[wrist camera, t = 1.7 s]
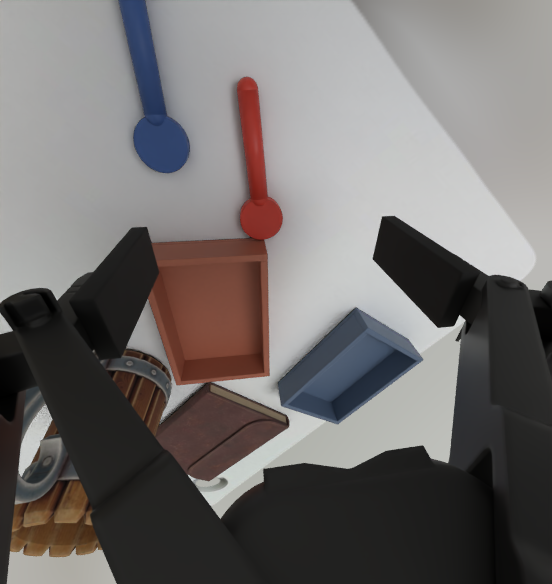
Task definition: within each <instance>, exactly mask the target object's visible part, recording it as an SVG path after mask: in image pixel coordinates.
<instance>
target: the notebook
mask: <svg viewBox="0 0 552 584" xmlns="http://www.w3.org/2000/svg"><path fill="white" fill-rule="evenodd" d="M288 427H289V419H288V417H287V415H285V414H282V413H280V412H278V411H275V410H273V409H271V408H269V407H266V406H264V405H262V404H259V403H257V402H255V401H253V400H250V399H248V398H246V397H243V396H241V395H239V394H237V393H234V392H232V391H230V390H227V389H225V388H223V387H221V386H218V385H216V384H214V383H211V382H208V383H207V384H206V385H205V386H204V387H203V388H202V389H200V390H199V391H198V392H197V393H196V394H195V395H194V396H193V397H191V398H190V399H189V400H188V401H187V402H186V403H185V404H184V405H182V406H181V407H180V408H179V409H178V410H177V411H176V412H175V413H173V414H172V415H171V416H170V417H169V418H168V419H167V420H165V421H164V422H163V423H162V424H161V425H160V426H159V427H158V429H157V432H156V435H155V438H156V439H157V440H158V442H159V443H160V444H161V446H162V447H163V448H164V449H165V450H168V451H169V452H170V453H171V454H172V455H173V457H174V458H175V459H176V460H177V462H178V463H179V464H180V466H181V467H182V469H183V470H184V471H185V473H186V474H187V475H190V476H191V477H193V478H196V479H201V480H205V481H210V480H212V479H213V478H215V477H216V476H218V475H219V474H221V473H222V472H224V471H225V470H226V469H228V468H229V467H231V466H232V465H234V464H235V463H237V462H238V461H240V460H241V459H243V458H244V457H246V456H247V455H249V454H250V453H252V452H253V451H254V450H256V449H257V448H259V447H260V446H262V445H263V444H265V443H266V442H268V441H269V440H271V439H272V438H274V437H275V436H277V435H278V434H279V433H281V432H282V431H284V430H285V429H287V428H288Z"/></svg>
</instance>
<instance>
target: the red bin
mask: <svg viewBox="0 0 552 584" xmlns="http://www.w3.org/2000/svg"><path fill="white" fill-rule="evenodd" d="M152 247H153V251H154V254H155V258H156V262H157V265H158V269H159V275H158V277H157V279H156V281H155V284H154V286H153V288H152V290H151V292H150V295H149V297H148V299H149V302H150V305H151V309H152V312H153V315H154V318H155V321H156V324H157V327H158V330H159V333H160V336H161V339H162V342H163V345H164V348H165V351H166V354H167V357H168V360H169V363H170V366H171V370H172V373H173V376H174V379H175V382H176V385H185V384H195V383H205V382H215V381H224V380H234V379H244V378H254V377H264V376H269V375H270V373H269V315H268V261H267V260H268V256H267V250H266V246H265V241H264V240H258V239H254V238H245V239H224V240H203V241H182V242H161V243H152Z"/></svg>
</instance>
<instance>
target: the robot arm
mask: <svg viewBox="0 0 552 584" xmlns="http://www.w3.org/2000/svg"><path fill="white" fill-rule="evenodd" d="M373 260H374V261H375V262H376V263H377V264H378V265H379V266H380V267H381V268H382V269H383V270H384V272H385V273H386V274H387V275H388V276H389V277H390V278H391V279H392V280H393V281H394V282H395V283H396V284H397V285H398V286H399V287H400V288H401V289H402V291H403V292H404V293H405V294H406V295H407V296H408V297H409V298H410V299H411V300H412V301H413V302H414V303H415V304H416V305H417V306H418V307H419V308H420V309H421V311H422V312H423V313H424V314H425V315H426V316H427V317H428V318H429V319H430V320H431V321H432V322H433V323H434V324H435V325H436V326H437V327H438V328H441V327H451V326H454V325H455V323H456V321H457V319H458V317H459V315H460V316H462V317H463V318H464V319H465V320H466V321H465V323H464V325H463V327H462V329H461V331H460V333H459V335H458V337H457V339H456V341H459V340H460V339H461V344H460V355H459V366H458V376H457V386H456V397H455V407H454V418H453V428H452V439H451V449H450V458H449V462H448V463H445V462H442V461H438V460H434V459H431V458H430V457H429V455H428V453H427V452H426V450H425V448H424V446H416V447H409V448H403V449H396V450H389V451H385V452H383V453H381V454H379V455H377V456H375V457H374V458H371V459H369V460H367V461H365V462H363V463H361V464H359V465H358V466H356V467H354V468H350V469H344V468H337V467H329V466H322V465H315V464H307V463H302V464H295V465H288V466H281V467H275V468H268V469H264V470H263V473H264V482H262V483H260V484H258V485H256V486H254V487H253V488H251V489H250V490H248V491H247V492H245V493H244V494H243V495H242V496H240V497H239V498H238V499H237V500H236V501H235V502H234V503H233V504H232V505H231V506H230V508H229V509H228V510H227V511H226V512H225V514H224V515H223V516H222V518H221V519H220V518H219V517H218V515H217V514H216V513H215V511H214V510H213V509H212V508H211V506H210V505H209V503H208V502H207V501H206V499H205V498H204V497H203V495H202V494H201V493H200V491H199V490H198V489H197V487H196V486H195V485H194V483H193V482H192V481H191V479H190V478H189V477H188V475H187V474H186V473H185V471H184V470H183V469H182V467H181V466H180V464H179V463H178V462H177V460H176V459H175V458H174V457H173V455H172V454H171V453H170V452H169V451H168V450H165V449H164V448H163V447H162V446H161V444H160V443H159V442H158V440H157V439H156V438H155V436H154V435H153V434H152V432H151V431H150V429H149V428H148V427H147V425H146V424H145V423H144V421H143V420H142V419H141V417H140V416H139V414H138V413H137V412H136V410H135V409H134V408H133V406H132V405H131V404H130V402H129V401H128V399H127V398H126V397H125V395H124V394H123V393H122V391H121V390H120V389H119V387H118V386H117V384H116V383H115V382H114V380H113V379H112V378H111V376H110V375H109V374H108V372H107V371H106V369H105V368H104V367H103V365H102V364H101V363H100V361H99V360H107V359H117V358H121V357H122V355H123V353H124V350H125V348H126V346H127V344H128V342H129V339H130V337H131V335H132V333H133V330H134V328H135V326H136V324H137V321H138V319H139V317H140V315H141V313H142V310H143V308H144V306H145V304H146V301H147V299H148V297H149V295H150V292H151V290H152V288H153V286H154V284H155V281H156V279H157V277H158V275H159V269H158V265H157V262H156V258H155V254H154V251H153V247H152V243H151V240H150V236H149V233H148V229H147V227H135V228H131V229H130V230H129V231H128V233H127V234H126V235H125V236H124V237H123V238H122V240H121V241H120V242H119V243H118V244H117V245H116V247H115V248H114V249H113V250H112V251H111V252H110V254H109V255H108V256H107V257H106V258H105V259H104V261H103V262H102V263H101V264H100V265H99V266H98V268H97V269H96V270H95V271H94V272H91V273H87V274H85V275H83V276H82V277H80V278H78V279H77V280H76V281H75V282H74V283H73V284H72V285H71V287H70V288H69V289H68V290H67V291H66V293H64V294H63V295H62V296H61V297H60V298H59V299H58V301H57V300H56V298H55V296H54V295H53V293H52V291H51V290H49V289H47V288H35V289H29V290H25V291H22V292H19V293H16V294H14V295H12V296H10V297H8V298H6V299H5V300H3V301H2V302H1V303H0V313H1V314H2V316H3V317H4V318H5V320H6V321H7V322H8V324H9V325H10V327H11V328H12V329H13V331H12V332H8V333H4V334H0V584H7V574H8V565H9V554H10V545H11V535H12V526H13V516H14V506H15V496H16V487H17V477H18V467H19V457H20V448H21V438H22V428H23V418H24V408H25V399H26V390H27V389H30V388H33V387H36V386H38V387H39V390H40V392H41V394H42V396H43V399H44V401H45V403H46V405H47V408H48V410H49V412H50V414H51V417H52V419H53V421H54V423H55V426H56V428H57V430H58V432H59V435H60V437H61V439H62V441H63V444H64V446H65V448H66V450H67V453H68V455H69V457H70V459H71V462H72V464H73V466H74V468H75V471H76V473H77V475H78V477H79V480H80V482H81V484H82V486H83V489H84V491H85V493H86V495H87V498H88V500H89V502H90V505H91V507H92V512H91V514H90V518H91V523H92V525H93V528H94V531H95V533H96V536H97V538H98V541H99V543H100V545H101V548H102V550H103V552H104V555H105V557H106V559H107V562H108V564H109V566H110V569H111V571H112V573H113V576H114V578H115V581H116V583H117V584H552V281H548V282H547V283H546V285H545V286H544V288H543V289H542V291H537V290H528V287H527V286H526V285H525V284H524V283H522V282H521V281H518V280H516V279H514V278H511V277H507V276H501V275H491V276H488V275H486V274H485V273H483V272H481V271H480V270H478V269H477V268H475V267H474V266H472V265H470V264H469V263H467V262H466V261H463V259H461V258H460V257H458V256H457V255H455V254H453V253H451V252H449V251H448V250H446V249H445V248H443V247H442V246H440V245H439V244H437V243H435V242H434V241H432V240H431V239H429V238H428V237H426V236H425V235H423V234H422V233H420V232H418V231H417V230H415V229H414V228H412V227H411V226H409V225H408V224H406V223H405V222H403V221H401V220H400V219H398V218H397V217H395V216H384V217H382V220H381V224H380V229H379V233H378V237H377V242H376V246H375V251H374V255H373ZM93 350H95V352H96V354H97V356H98V358H99V360H98V359H97V357H96V356H95V354H94V353H93Z"/></svg>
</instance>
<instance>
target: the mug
mask: <svg viewBox="0 0 552 584" xmlns="http://www.w3.org/2000/svg"><path fill="white" fill-rule="evenodd" d="M93 353H94V354H95V356H96V357H97V359H98V360H99V358H98V356H97V354H96V352H95V350H93ZM99 361H100V363H101V364H102V365H103V367H104V368H105V369H106V371H107V372H108V374H109V375H110V376H111V378H112V379H113V380H114V382H115V383H116V384H117V386H118V387H119V389H120V390H121V391H122V393H123V394H124V395H125V397H126V398H127V399H128V401H129V402H130V404H131V405H132V406H133V408H134V409H135V410H136V412H137V413H138V414H139V416H140V417H141V419H142V420H143V421H144V423H145V424H146V425H147V427H148V428H149V429H150V431H151V432H152V434H153V435H154V436H155V435H156V432H157V429H158V426H159V423H160V419H161V416H162V413H163V411H164V409H165V408H166V406H167V403H168V400H169V396H170V393H171V384H172V383H171V376H170V374H169V372H168V370H167V369H166V368H165V367H164V366H163V365H162V364H161V363H160V362H158V361H157V360H156V359H154V358H152V357H150V356H148V355H146V354H143V353H140V352H137V351H131V350H124V353H123V355H122V357H121V358H117V359H107V360H99ZM45 404H46V403H45V401H44V399H43V396H42V394H41V392H40V390H39V387H38V386H36V387H33V388H30V389H27V390H26V399H25V408H24V418H23V428H22V438H21V443H22V440H23V438H24V435H25V433H26V431H27V429H28V427H29V425H30V424H31V422H32V420H33V419H34V417H35V416H36V415H37V413H38V412H39V411H40V410H41V408H42V407H43V406H44V405H45ZM91 512H92V507H91V505H90V502H89V500H88V498H87V495H86V493H85V491H84V489H83V486H82V484H81V482H80V480H79V477H78V475H77V473H76V471H75V468H74V466H73V464H72V462H71V459H70V457H69V455H68V453H67V450H66V448H65V446H64V444H63V441H62V439H61V437H60V435H59V432H58V430H57V428H56V426H55V423H54V421H53V420H52V422H51V424H50V426H49V428H48V430H47V432H46V434H45V436H44V438H43V439H42V440H41V441H40V447H39V449H38V451H37V453H36V455H35V457H34V459H33V461H32V463H31V465H30V466H29V467H28V468H26V469H25V471H24V473H23V475H22V477H21V476H20V474H19V471H18V477H17V487H16V496H15V506H14V516H13V526H12V535H11V545H10V551H11V552H19V551H20V550H21V549H22V548H23V547H24V551H23V554H24V555H29V556H42V555H43V554H44V553H45V551H46V550H47V549H48V548H49V556H50V557H66V556H69V555H70V554H71V552H72V551H73V550H74V549H75V548H76V554H77V555H85V554H90V553H93V552H94V551H95V550H96V548H97V547H98V550H102V548H101V545H100V543H99V541H98V538H97V536H96V533H95V531H94V528H93V525H92V523H91V518H90V514H91Z"/></svg>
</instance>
